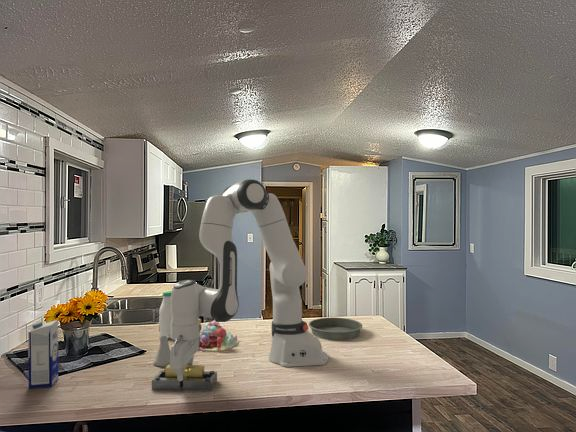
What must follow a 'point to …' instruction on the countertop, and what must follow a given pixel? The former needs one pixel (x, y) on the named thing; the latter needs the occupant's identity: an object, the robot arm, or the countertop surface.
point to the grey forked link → (201, 382)
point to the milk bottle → (165, 315)
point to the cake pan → (335, 328)
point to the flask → (163, 353)
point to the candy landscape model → (215, 338)
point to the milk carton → (43, 354)
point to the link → (165, 382)
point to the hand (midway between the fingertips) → (185, 374)
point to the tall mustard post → (186, 372)
